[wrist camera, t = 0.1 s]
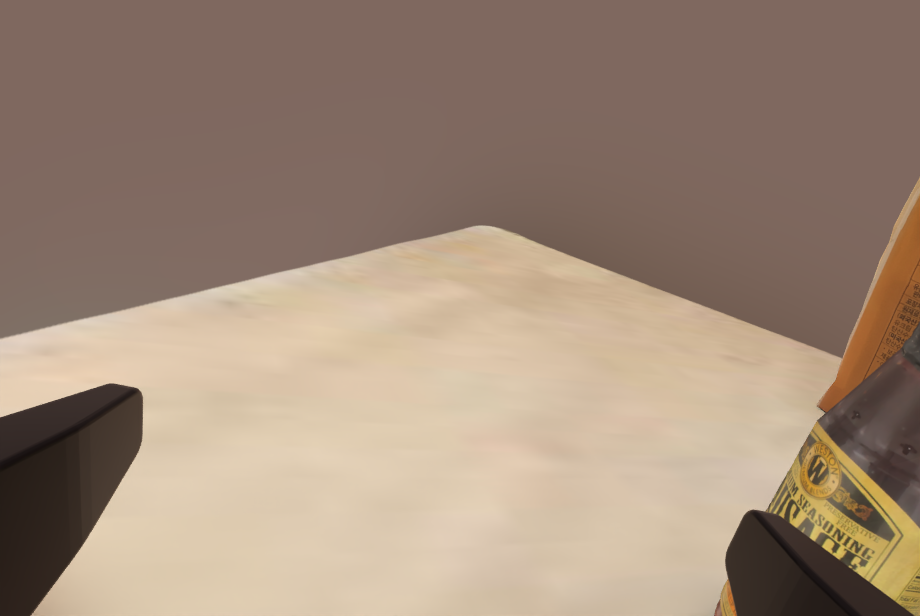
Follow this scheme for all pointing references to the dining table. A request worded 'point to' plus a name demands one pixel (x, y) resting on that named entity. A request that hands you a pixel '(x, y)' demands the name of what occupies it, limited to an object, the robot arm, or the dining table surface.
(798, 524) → the sauce bottle
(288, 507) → the dining table surface
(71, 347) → the dining table surface
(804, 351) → the dining table surface
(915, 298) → the pancake mix bag
